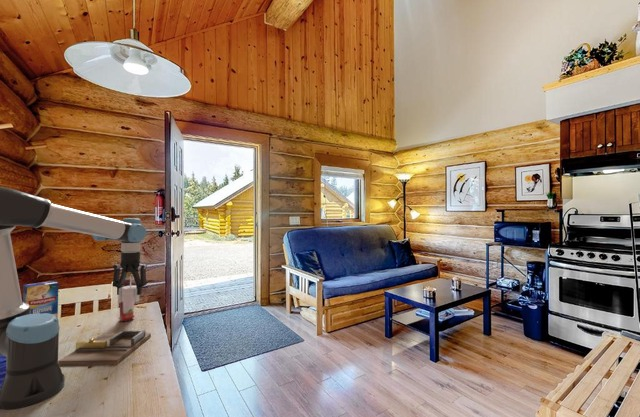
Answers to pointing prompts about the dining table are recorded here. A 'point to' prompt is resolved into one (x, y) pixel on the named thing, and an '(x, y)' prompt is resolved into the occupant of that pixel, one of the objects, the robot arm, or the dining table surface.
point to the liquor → (124, 313)
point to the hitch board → (103, 352)
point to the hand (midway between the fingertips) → (129, 301)
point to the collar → (135, 334)
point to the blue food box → (42, 297)
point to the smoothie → (128, 296)
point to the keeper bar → (91, 344)
